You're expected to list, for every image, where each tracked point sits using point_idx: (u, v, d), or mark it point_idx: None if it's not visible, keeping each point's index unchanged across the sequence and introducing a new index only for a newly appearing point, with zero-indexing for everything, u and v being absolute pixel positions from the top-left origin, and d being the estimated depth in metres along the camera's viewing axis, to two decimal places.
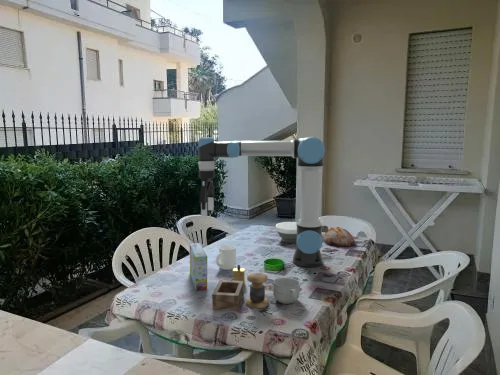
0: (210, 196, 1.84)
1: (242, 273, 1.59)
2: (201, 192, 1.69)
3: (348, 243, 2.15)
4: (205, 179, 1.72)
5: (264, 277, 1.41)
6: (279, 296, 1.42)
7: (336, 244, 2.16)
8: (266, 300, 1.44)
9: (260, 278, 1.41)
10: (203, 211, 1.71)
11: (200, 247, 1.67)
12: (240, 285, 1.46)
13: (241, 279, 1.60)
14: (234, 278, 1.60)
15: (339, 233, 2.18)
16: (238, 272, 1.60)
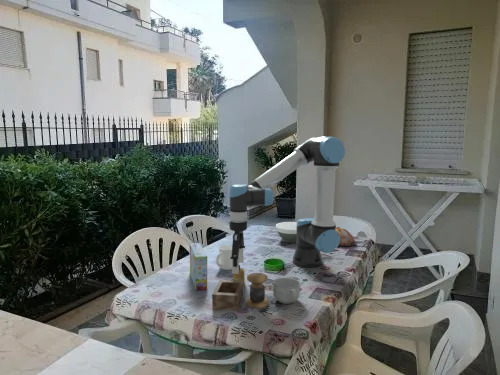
0: (240, 247, 1.67)
1: (242, 273, 1.59)
2: (233, 248, 1.51)
3: (348, 243, 2.14)
4: (237, 232, 1.55)
5: (264, 277, 1.41)
6: (279, 296, 1.42)
7: None
8: (266, 300, 1.44)
9: (260, 278, 1.41)
10: (235, 268, 1.53)
11: (200, 247, 1.67)
12: (240, 285, 1.46)
13: (241, 279, 1.60)
14: (234, 278, 1.60)
15: (339, 233, 2.18)
16: None
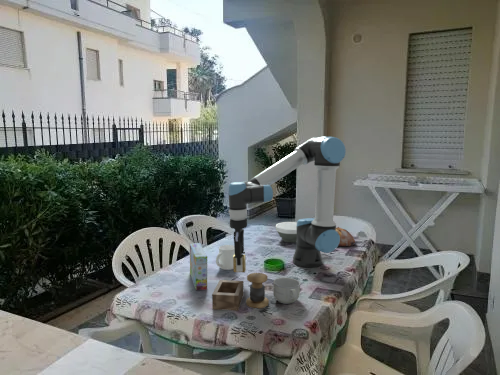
0: None
1: (243, 259, 1.59)
2: (235, 248, 1.54)
3: (348, 243, 2.14)
4: (237, 230, 1.55)
5: (264, 277, 1.41)
6: (279, 296, 1.42)
7: None
8: (266, 300, 1.44)
9: (260, 278, 1.41)
10: (239, 267, 1.59)
11: (200, 247, 1.67)
12: (240, 285, 1.46)
13: None
14: (235, 264, 1.60)
15: (339, 233, 2.17)
16: None
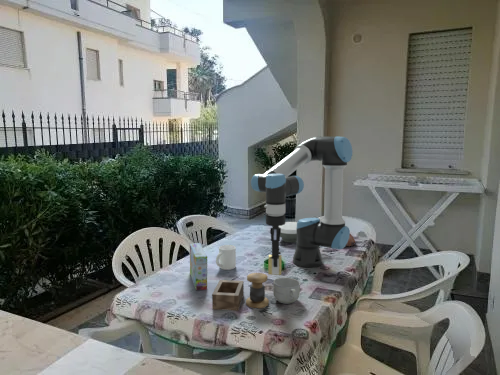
0: None
1: (279, 260, 1.41)
2: (273, 248, 1.37)
3: (349, 243, 2.14)
4: (275, 227, 1.37)
5: (264, 277, 1.41)
6: (279, 296, 1.42)
7: None
8: (266, 300, 1.44)
9: (260, 278, 1.41)
10: (275, 269, 1.41)
11: (200, 247, 1.67)
12: (240, 285, 1.46)
13: None
14: (270, 266, 1.42)
15: None
16: None
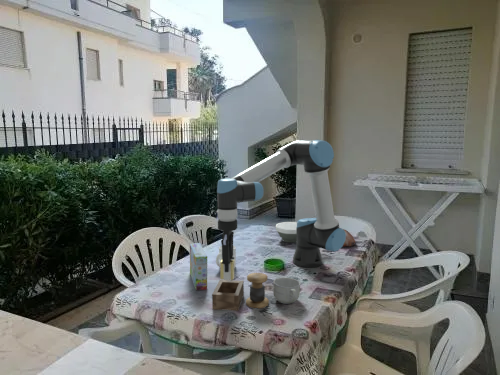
0: None
1: (231, 265, 1.41)
2: (223, 253, 1.37)
3: (349, 244, 2.14)
4: (226, 232, 1.38)
5: (264, 277, 1.41)
6: (279, 296, 1.42)
7: None
8: (266, 300, 1.44)
9: (260, 278, 1.41)
10: (226, 274, 1.41)
11: (200, 247, 1.67)
12: (240, 285, 1.46)
13: None
14: (222, 271, 1.42)
15: None
16: None
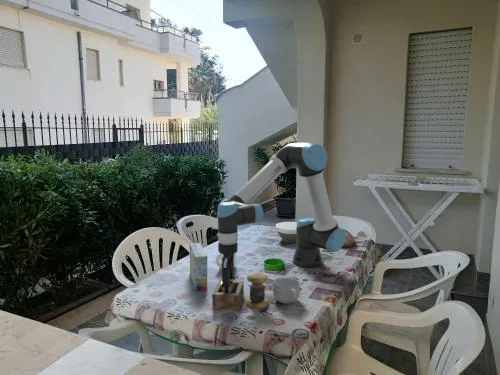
0: (229, 277, 1.48)
1: (231, 286, 1.43)
2: (223, 276, 1.38)
3: (349, 244, 2.13)
4: (226, 255, 1.39)
5: (264, 277, 1.41)
6: (279, 296, 1.42)
7: None
8: (266, 300, 1.44)
9: (260, 278, 1.41)
10: None
11: (200, 247, 1.67)
12: (240, 285, 1.46)
13: None
14: (222, 292, 1.44)
15: None
16: None
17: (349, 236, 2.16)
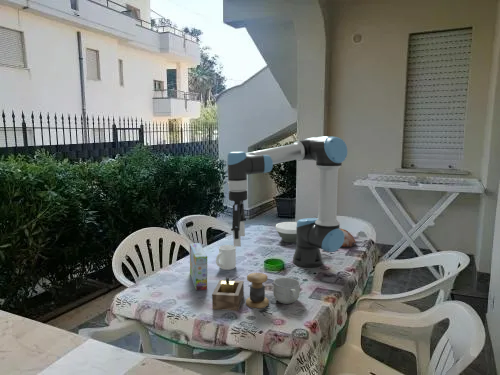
0: (240, 220, 1.56)
1: (231, 286, 1.43)
2: (234, 218, 1.40)
3: (349, 244, 2.13)
4: (237, 202, 1.44)
5: (264, 277, 1.41)
6: (279, 296, 1.42)
7: None
8: (266, 300, 1.44)
9: (260, 278, 1.41)
10: (236, 241, 1.43)
11: (200, 247, 1.67)
12: (240, 285, 1.46)
13: None
14: (222, 292, 1.44)
15: None
16: (227, 285, 1.43)
17: (349, 236, 2.16)
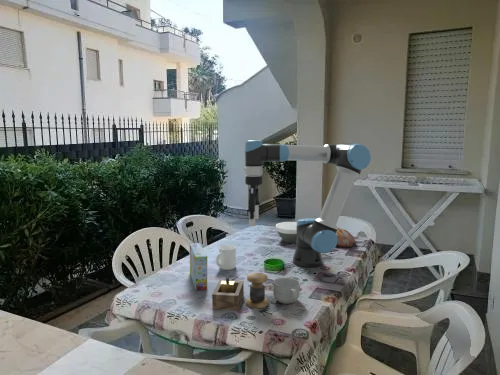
0: (255, 204, 1.70)
1: (231, 286, 1.43)
2: (250, 200, 1.54)
3: (349, 244, 2.13)
4: (253, 186, 1.58)
5: (264, 277, 1.41)
6: (279, 296, 1.42)
7: (337, 245, 2.14)
8: (266, 300, 1.44)
9: (260, 278, 1.41)
10: (251, 221, 1.57)
11: (200, 247, 1.67)
12: (240, 285, 1.46)
13: None
14: (222, 292, 1.44)
15: (340, 234, 2.16)
16: (227, 285, 1.43)
17: (349, 236, 2.15)
